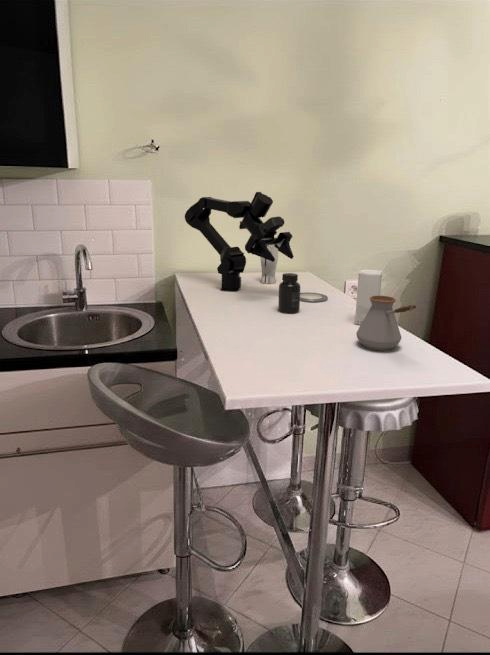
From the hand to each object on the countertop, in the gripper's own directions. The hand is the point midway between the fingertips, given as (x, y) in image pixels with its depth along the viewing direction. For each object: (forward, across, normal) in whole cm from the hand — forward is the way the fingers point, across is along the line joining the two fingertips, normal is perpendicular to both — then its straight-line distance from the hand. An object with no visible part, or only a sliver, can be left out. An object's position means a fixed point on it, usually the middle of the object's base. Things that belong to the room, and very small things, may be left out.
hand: (283, 259), depth 170 cm
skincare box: (+34, +3, -5) cm, 35 cm away
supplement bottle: (+15, -6, +8) cm, 18 cm away
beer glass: (-12, +20, +27) cm, 35 cm away
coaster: (+10, +13, +11) cm, 20 cm away
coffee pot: (+49, -16, -16) cm, 54 cm away
